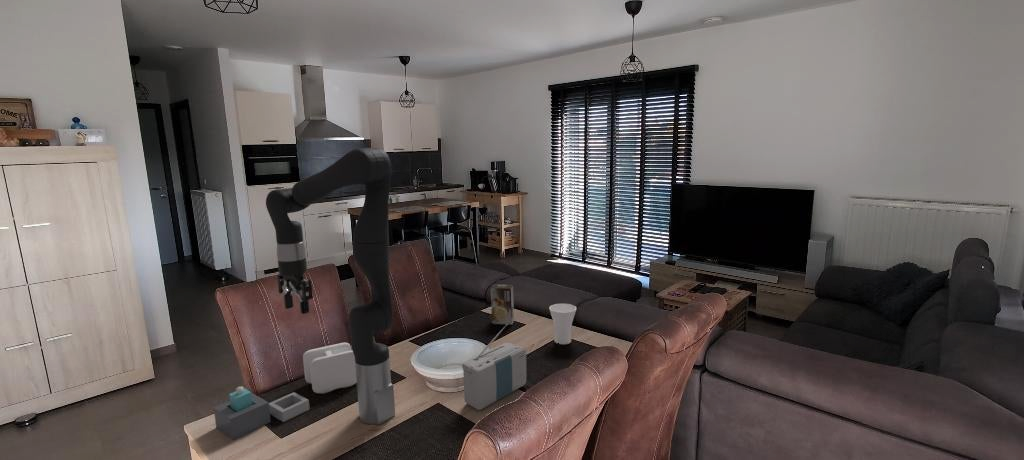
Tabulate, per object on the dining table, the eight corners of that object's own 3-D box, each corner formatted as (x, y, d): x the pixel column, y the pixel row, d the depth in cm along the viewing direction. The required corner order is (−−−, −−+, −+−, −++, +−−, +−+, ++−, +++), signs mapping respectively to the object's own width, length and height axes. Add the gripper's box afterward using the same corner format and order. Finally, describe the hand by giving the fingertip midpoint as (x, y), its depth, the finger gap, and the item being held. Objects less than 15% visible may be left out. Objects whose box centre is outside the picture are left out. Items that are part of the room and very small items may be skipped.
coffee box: (514, 319, 210) (514, 284, 208) (512, 325, 204) (511, 288, 201) (494, 318, 212) (493, 283, 209) (491, 324, 206) (490, 287, 203)
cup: (580, 339, 188) (581, 306, 185) (569, 348, 179) (569, 314, 177) (556, 334, 193) (556, 301, 191) (544, 343, 185) (544, 309, 182)
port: (270, 422, 134) (268, 401, 133) (233, 439, 126) (230, 418, 125) (253, 411, 140) (250, 391, 139) (216, 427, 132) (213, 406, 131)
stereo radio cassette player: (480, 414, 136) (478, 348, 133) (460, 404, 142) (458, 340, 139) (527, 387, 152) (527, 326, 148) (508, 378, 157) (507, 320, 154)
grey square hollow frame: (309, 409, 141) (308, 399, 140) (283, 422, 134) (282, 412, 134) (294, 401, 145) (293, 392, 145) (268, 413, 139) (267, 403, 138)
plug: (254, 418, 134) (250, 387, 132) (239, 425, 130) (235, 393, 129) (247, 414, 136) (243, 383, 134) (232, 420, 133) (228, 388, 131)
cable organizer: (310, 397, 147) (307, 362, 145) (305, 383, 156) (301, 350, 154) (360, 384, 155) (357, 350, 153) (352, 371, 164) (349, 339, 162)
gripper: (317, 257, 138) (322, 311, 141) (290, 252, 147) (295, 302, 149) (292, 263, 132) (298, 319, 135) (266, 256, 141) (272, 309, 143)
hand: (297, 310), depth 142 cm, fingers open, 8 cm apart
